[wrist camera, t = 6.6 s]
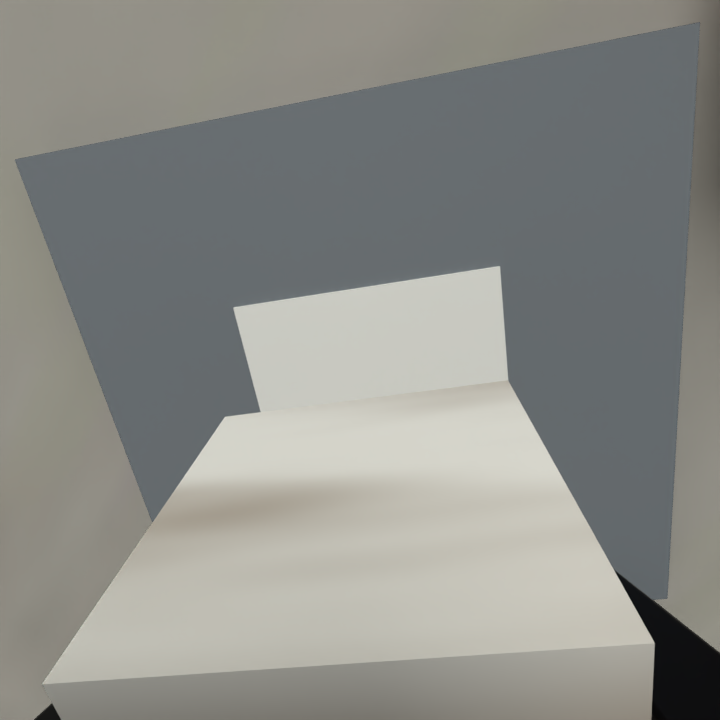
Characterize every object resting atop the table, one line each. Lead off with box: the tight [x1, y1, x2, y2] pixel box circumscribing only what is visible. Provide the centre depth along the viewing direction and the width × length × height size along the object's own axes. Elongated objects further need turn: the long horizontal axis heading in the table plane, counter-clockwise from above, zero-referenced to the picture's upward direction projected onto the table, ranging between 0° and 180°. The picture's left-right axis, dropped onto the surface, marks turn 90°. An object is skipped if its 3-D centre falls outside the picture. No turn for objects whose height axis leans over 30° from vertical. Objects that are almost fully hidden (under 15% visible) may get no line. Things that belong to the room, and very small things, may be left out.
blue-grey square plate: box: [15, 22, 700, 600], centre depth 15 cm, size 16×16×1 cm
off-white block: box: [42, 380, 655, 720], centre depth 7 cm, size 5×5×5 cm
